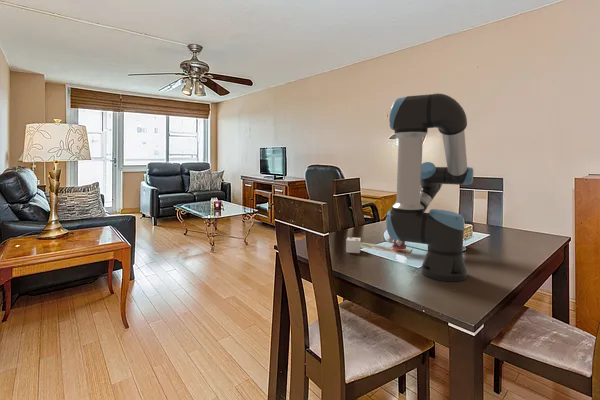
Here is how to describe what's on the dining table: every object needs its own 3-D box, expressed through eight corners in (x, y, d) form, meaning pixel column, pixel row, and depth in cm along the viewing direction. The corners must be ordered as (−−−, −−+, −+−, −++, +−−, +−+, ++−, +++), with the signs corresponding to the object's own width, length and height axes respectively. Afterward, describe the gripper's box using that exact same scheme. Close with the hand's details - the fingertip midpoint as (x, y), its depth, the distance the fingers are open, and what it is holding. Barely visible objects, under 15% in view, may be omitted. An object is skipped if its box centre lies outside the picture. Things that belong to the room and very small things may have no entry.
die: (359, 254, 146) (359, 240, 145) (346, 253, 147) (346, 239, 146) (360, 250, 151) (360, 237, 151) (347, 249, 153) (347, 236, 152)
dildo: (403, 250, 145) (404, 221, 143) (390, 247, 148) (391, 220, 147) (407, 247, 150) (408, 219, 148) (394, 245, 153) (395, 218, 152)
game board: (405, 255, 143) (405, 254, 143) (353, 247, 157) (353, 246, 157) (411, 250, 151) (411, 250, 150) (361, 243, 165) (361, 242, 165)
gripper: (439, 211, 147) (413, 252, 141) (408, 206, 162) (383, 243, 156) (432, 200, 144) (404, 241, 138) (401, 196, 159) (375, 233, 153)
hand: (393, 242), depth 147 cm, fingers closed on dildo, 5 cm apart
